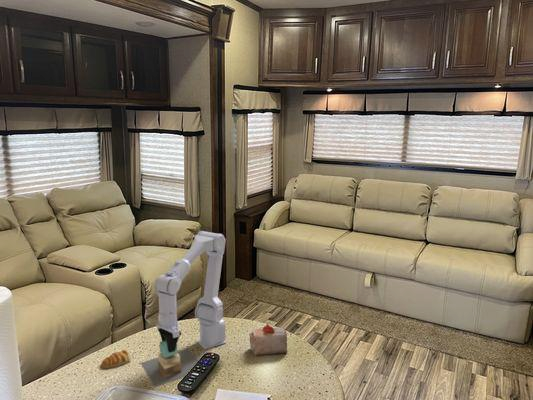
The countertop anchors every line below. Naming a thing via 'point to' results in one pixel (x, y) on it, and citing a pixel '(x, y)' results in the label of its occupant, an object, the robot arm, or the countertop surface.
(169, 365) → the tower mid
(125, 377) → the countertop surface
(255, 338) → the food item
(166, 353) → the teal block
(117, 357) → the pastry
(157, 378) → the mat
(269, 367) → the countertop surface
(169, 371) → the tower base
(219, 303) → the robot arm
